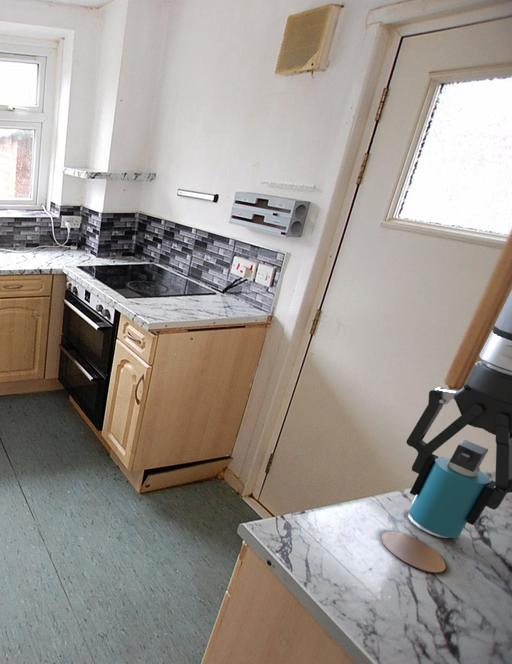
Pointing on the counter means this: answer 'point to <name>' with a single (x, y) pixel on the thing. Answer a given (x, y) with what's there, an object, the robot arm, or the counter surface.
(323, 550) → the counter surface
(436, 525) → the spray bottle
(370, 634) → the counter surface
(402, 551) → the coaster
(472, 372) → the robot arm
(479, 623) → the counter surface
